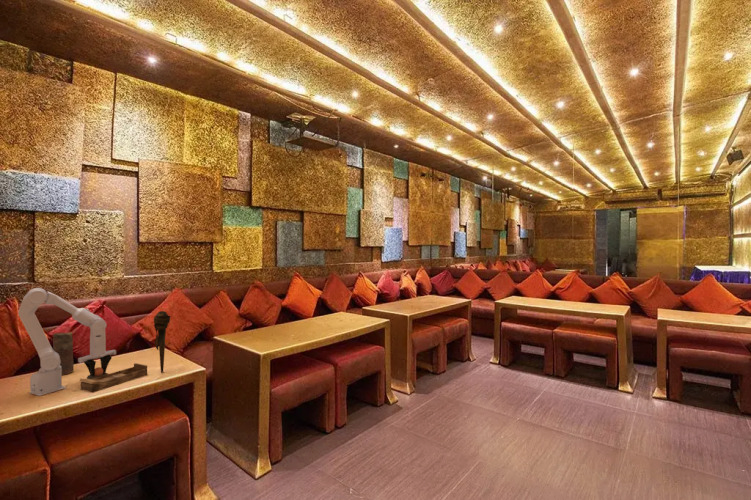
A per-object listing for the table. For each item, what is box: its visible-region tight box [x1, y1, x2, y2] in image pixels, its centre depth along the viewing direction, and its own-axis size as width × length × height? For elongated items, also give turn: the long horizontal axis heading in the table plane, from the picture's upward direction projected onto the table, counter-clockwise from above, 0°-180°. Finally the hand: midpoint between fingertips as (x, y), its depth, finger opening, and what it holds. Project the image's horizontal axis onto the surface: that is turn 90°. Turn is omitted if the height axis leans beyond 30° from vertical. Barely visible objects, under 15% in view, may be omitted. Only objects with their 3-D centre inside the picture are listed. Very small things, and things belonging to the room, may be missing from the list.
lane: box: [79, 362, 148, 393], centre depth 162 cm, size 23×9×4 cm, turn 155°
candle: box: [52, 331, 75, 376], centre depth 174 cm, size 8×7×20 cm
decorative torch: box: [153, 310, 171, 374], centre depth 174 cm, size 7×7×30 cm
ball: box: [94, 366, 103, 376], centre depth 164 cm, size 4×4×4 cm
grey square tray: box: [86, 372, 109, 379], centre depth 164 cm, size 6×6×3 cm
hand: (97, 374), depth 164 cm, fingers closed on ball, 4 cm apart
